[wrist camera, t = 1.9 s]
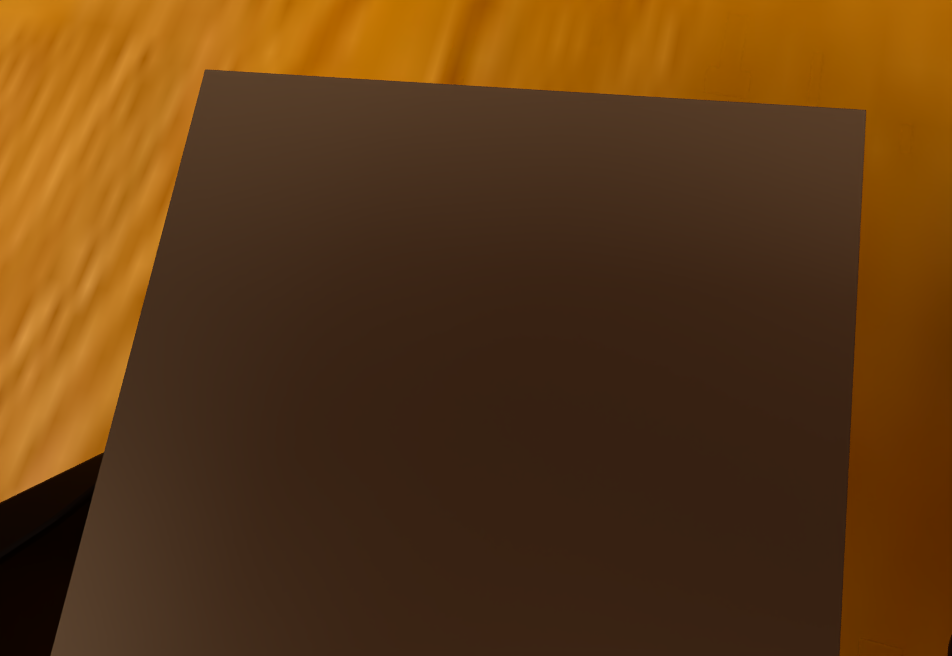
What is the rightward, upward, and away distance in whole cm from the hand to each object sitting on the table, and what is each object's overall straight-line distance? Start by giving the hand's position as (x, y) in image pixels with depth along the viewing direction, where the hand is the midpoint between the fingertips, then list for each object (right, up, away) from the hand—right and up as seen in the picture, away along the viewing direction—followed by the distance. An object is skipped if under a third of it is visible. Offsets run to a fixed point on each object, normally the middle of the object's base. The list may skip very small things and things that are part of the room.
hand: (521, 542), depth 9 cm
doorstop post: (+1, -2, +8) cm, 8 cm away
